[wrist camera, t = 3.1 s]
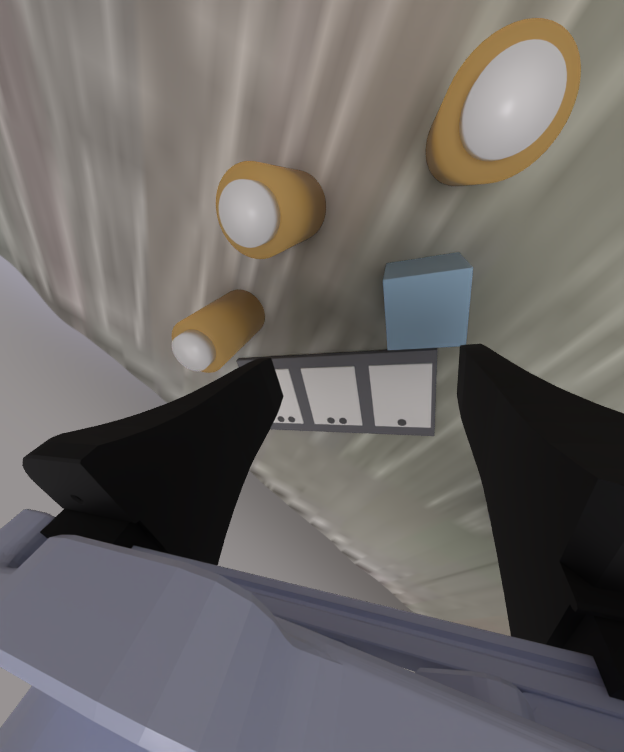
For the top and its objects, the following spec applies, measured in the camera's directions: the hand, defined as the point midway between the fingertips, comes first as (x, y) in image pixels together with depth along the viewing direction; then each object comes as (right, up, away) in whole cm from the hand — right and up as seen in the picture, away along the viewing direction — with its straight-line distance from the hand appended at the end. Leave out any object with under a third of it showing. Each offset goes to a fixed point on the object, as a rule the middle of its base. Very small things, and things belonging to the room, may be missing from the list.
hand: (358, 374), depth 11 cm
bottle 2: (-3, +10, +6) cm, 12 cm away
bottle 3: (+6, +11, +2) cm, 13 cm away
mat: (0, -2, +13) cm, 13 cm away
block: (+5, +5, +7) cm, 10 cm away
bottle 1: (-7, +5, +11) cm, 14 cm away
